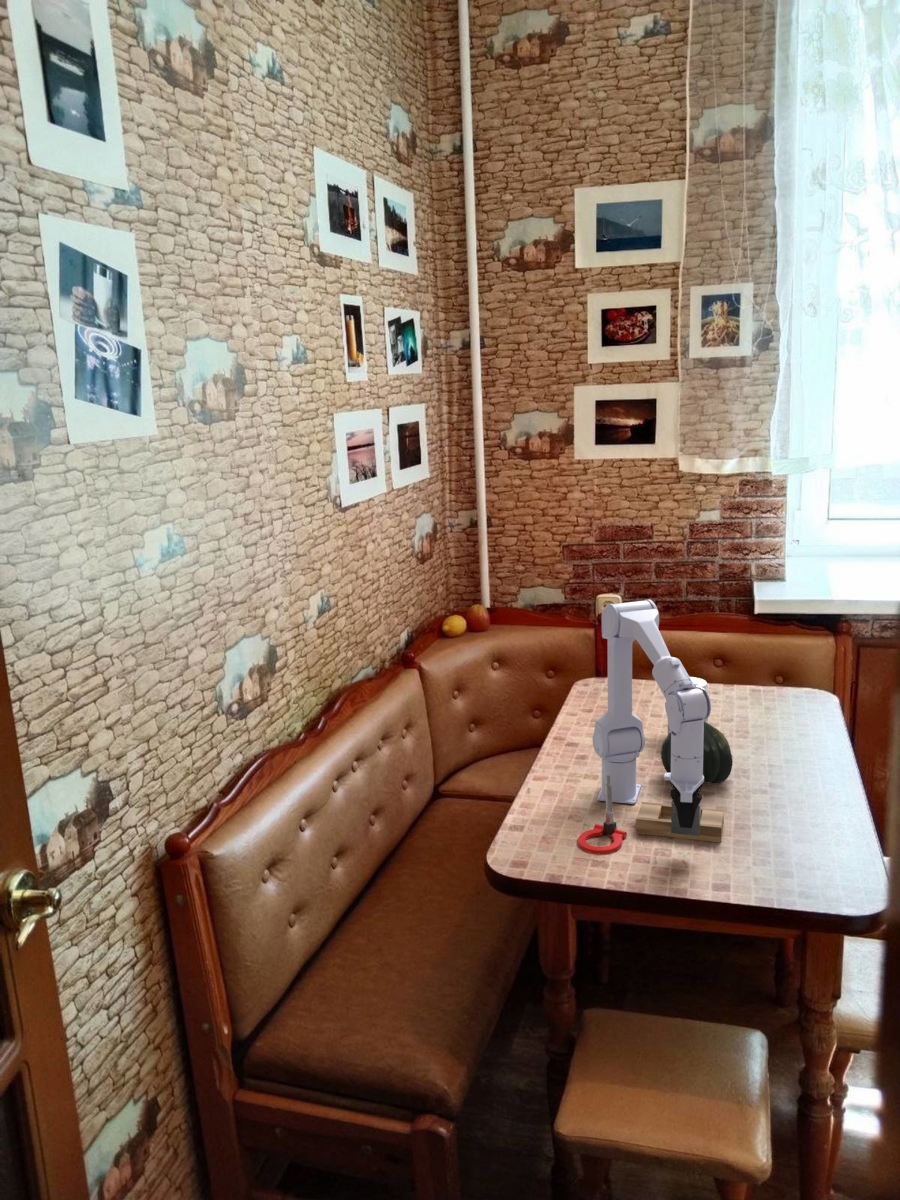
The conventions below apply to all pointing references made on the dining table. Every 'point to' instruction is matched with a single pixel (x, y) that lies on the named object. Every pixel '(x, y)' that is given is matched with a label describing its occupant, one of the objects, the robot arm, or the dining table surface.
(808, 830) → the dining table surface
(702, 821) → the open wooden tray
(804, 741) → the dining table surface
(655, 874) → the dining table surface
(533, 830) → the dining table surface
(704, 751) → the squash
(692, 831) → the grey rectangular prism
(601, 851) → the tow hook
